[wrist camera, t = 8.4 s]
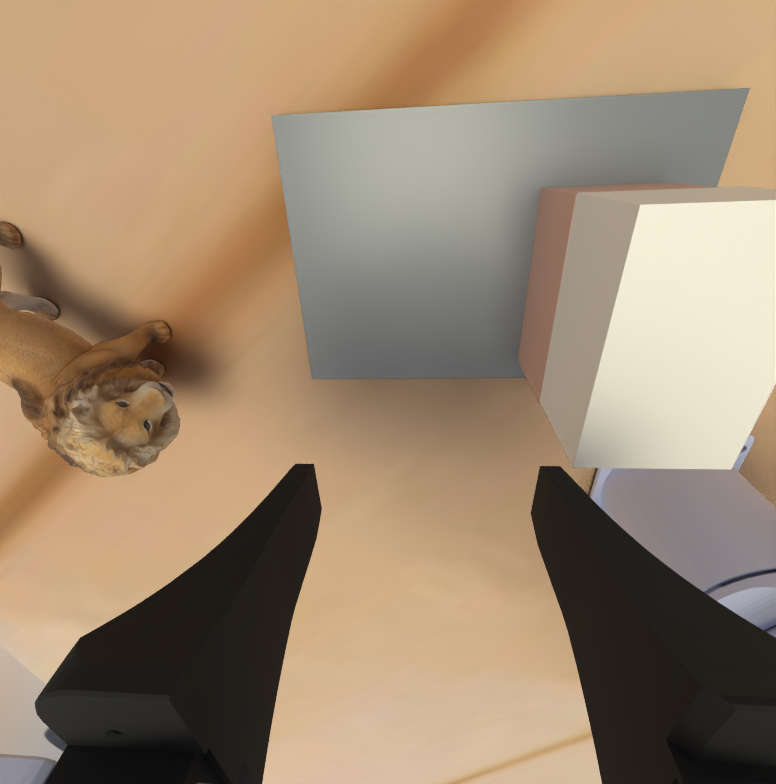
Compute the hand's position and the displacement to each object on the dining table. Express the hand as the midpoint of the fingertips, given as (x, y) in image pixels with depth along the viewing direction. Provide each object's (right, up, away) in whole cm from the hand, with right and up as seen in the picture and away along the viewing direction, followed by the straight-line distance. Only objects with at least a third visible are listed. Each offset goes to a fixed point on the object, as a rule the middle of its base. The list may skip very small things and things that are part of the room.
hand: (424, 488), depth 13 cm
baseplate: (+3, +10, +6) cm, 12 cm away
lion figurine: (-16, +7, +9) cm, 20 cm away
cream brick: (+8, +6, +2) cm, 10 cm away
